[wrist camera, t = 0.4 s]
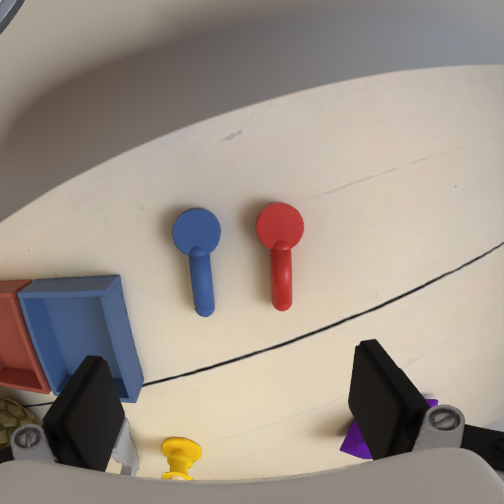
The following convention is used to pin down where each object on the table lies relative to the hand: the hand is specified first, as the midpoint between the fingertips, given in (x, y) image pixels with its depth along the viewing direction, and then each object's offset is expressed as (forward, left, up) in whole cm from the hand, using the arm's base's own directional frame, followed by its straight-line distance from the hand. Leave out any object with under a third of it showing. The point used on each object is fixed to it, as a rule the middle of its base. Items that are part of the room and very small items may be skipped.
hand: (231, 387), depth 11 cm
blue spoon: (0, -3, -18) cm, 18 cm away
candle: (+25, -9, -18) cm, 32 cm away
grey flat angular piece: (+24, -16, -18) cm, 34 cm away
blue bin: (+7, -16, -18) cm, 25 cm away
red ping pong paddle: (0, +4, -18) cm, 18 cm away
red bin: (+7, -27, -18) cm, 33 cm away
